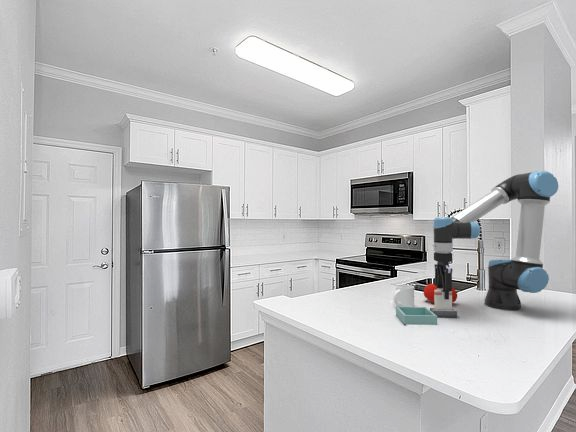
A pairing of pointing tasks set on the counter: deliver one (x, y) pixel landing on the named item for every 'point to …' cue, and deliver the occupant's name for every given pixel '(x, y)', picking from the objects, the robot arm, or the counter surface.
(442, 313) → the metal rectangular holder
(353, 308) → the counter surface
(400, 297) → the mug
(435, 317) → the tray
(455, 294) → the tomato
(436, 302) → the cream red-striped panel
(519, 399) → the counter surface
